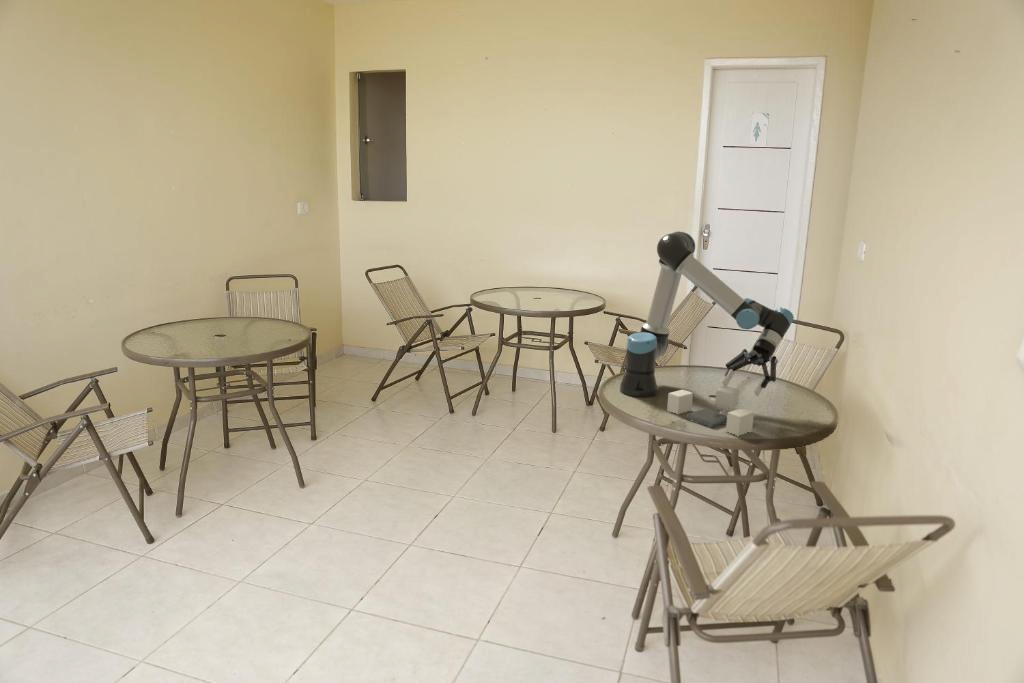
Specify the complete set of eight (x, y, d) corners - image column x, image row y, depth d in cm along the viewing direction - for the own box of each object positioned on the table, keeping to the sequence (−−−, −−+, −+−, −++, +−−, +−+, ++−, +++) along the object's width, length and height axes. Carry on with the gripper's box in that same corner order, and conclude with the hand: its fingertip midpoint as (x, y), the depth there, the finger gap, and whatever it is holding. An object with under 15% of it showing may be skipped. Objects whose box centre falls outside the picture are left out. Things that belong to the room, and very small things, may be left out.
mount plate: (686, 419, 249) (687, 413, 249) (704, 413, 255) (704, 408, 255) (711, 428, 241) (712, 422, 241) (729, 422, 247) (729, 417, 246)
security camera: (720, 410, 259) (723, 385, 257) (738, 415, 255) (741, 389, 253) (713, 415, 254) (716, 389, 252) (732, 419, 250) (734, 393, 248)
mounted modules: (667, 410, 258) (668, 393, 256) (680, 407, 262) (682, 389, 261) (738, 436, 234) (740, 416, 232) (751, 431, 239) (754, 412, 237)
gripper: (800, 356, 253) (773, 403, 247) (741, 343, 272) (715, 386, 266) (794, 345, 248) (766, 392, 243) (734, 332, 267) (707, 375, 262)
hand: (739, 389), depth 254 cm, fingers open, 13 cm apart
